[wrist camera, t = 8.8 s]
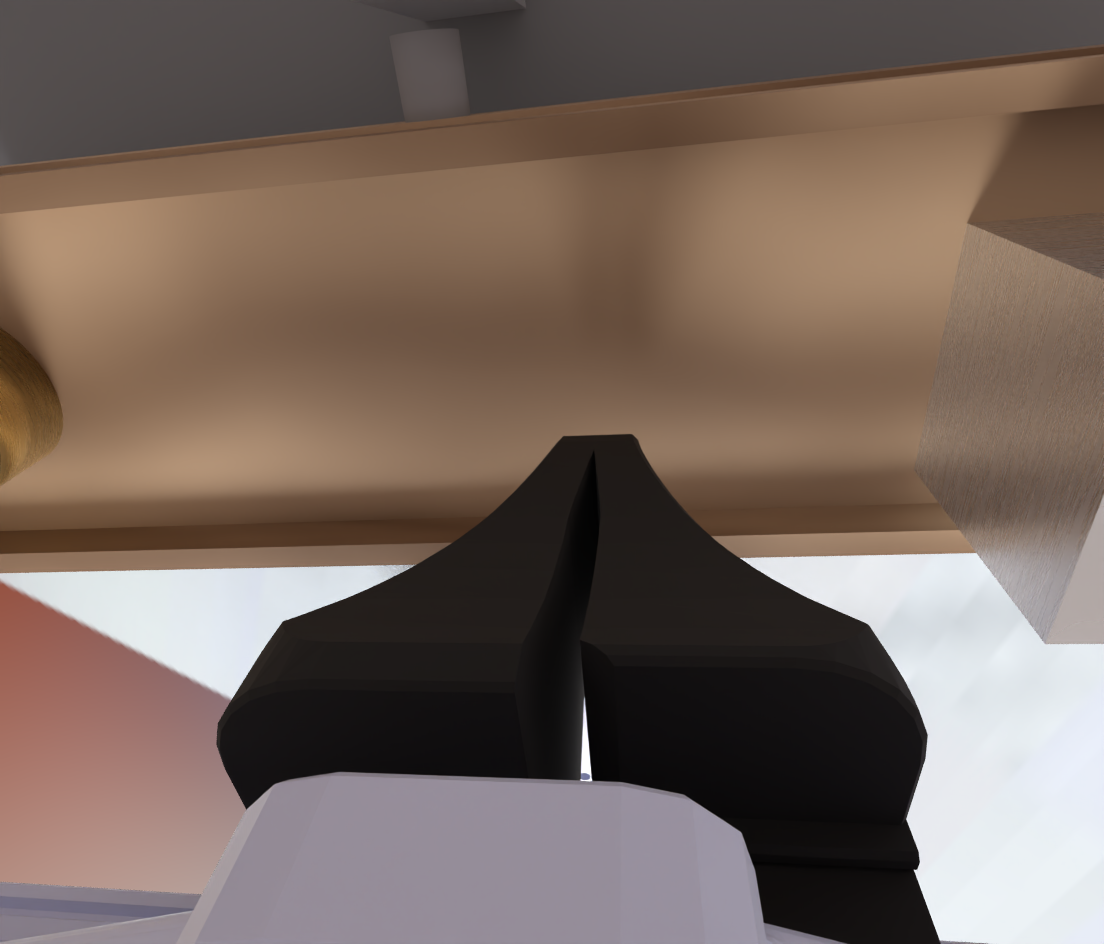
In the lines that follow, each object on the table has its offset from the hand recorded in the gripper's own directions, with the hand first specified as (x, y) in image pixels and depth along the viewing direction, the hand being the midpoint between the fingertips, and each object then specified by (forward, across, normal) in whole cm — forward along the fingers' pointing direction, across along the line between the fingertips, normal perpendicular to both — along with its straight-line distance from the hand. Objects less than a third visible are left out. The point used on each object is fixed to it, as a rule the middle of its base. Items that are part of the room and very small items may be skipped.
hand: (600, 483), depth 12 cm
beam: (+3, +3, -1) cm, 4 cm away
